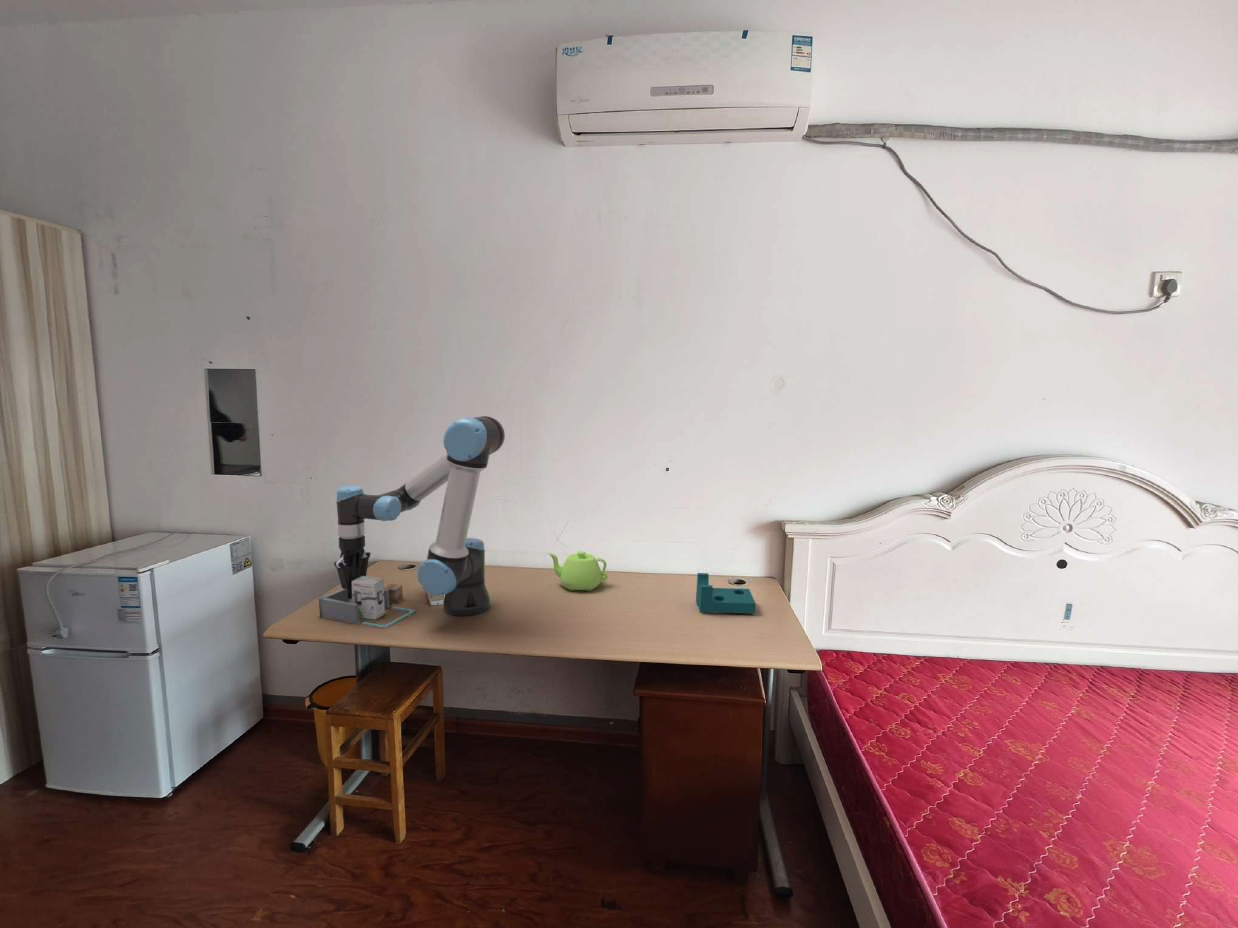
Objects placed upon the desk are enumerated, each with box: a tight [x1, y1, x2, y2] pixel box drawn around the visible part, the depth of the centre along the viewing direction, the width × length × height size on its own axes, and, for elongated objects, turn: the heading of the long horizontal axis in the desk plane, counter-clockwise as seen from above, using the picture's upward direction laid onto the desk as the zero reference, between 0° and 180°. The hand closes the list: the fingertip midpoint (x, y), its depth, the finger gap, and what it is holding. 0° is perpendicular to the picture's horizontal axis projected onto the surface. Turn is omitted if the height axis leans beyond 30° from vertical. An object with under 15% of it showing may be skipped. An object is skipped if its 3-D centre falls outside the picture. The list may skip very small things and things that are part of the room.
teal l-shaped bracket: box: [695, 572, 757, 614], centre depth 191 cm, size 18×11×10 cm, turn 90°
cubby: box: [318, 588, 390, 625], centre depth 182 cm, size 14×14×6 cm
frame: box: [362, 606, 417, 630], centre depth 178 cm, size 8×14×1 cm, turn 161°
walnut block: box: [384, 583, 404, 605], centre depth 192 cm, size 5×5×5 cm
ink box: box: [352, 575, 386, 620], centre depth 179 cm, size 9×5×12 cm, turn 77°
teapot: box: [547, 550, 608, 592], centre depth 209 cm, size 22×15×13 cm
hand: (354, 607), depth 182 cm, fingers closed
